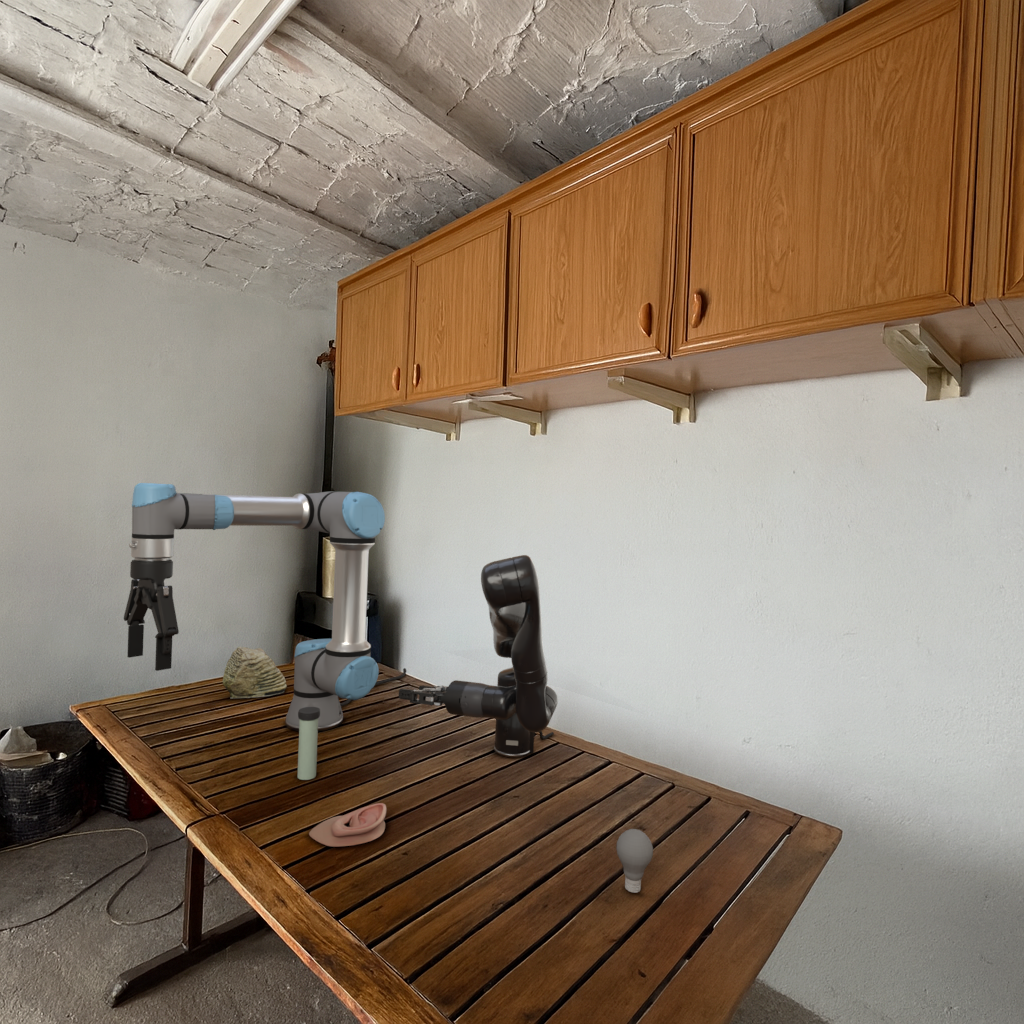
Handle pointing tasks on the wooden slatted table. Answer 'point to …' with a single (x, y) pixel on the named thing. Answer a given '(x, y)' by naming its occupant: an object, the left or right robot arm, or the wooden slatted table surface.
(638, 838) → the light bulb
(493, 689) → the right robot arm
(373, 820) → the anatomical model
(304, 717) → the lid
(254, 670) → the fossil
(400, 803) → the wooden slatted table surface
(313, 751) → the bottle
